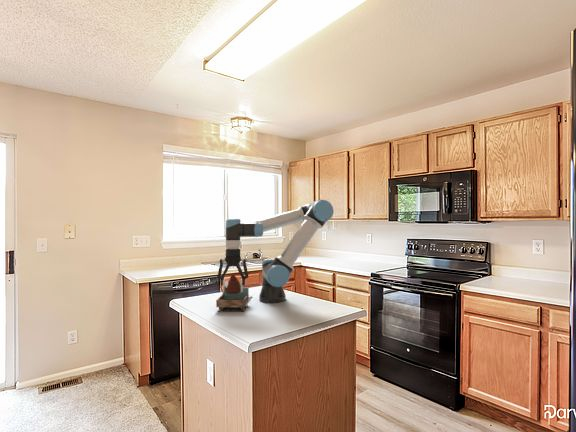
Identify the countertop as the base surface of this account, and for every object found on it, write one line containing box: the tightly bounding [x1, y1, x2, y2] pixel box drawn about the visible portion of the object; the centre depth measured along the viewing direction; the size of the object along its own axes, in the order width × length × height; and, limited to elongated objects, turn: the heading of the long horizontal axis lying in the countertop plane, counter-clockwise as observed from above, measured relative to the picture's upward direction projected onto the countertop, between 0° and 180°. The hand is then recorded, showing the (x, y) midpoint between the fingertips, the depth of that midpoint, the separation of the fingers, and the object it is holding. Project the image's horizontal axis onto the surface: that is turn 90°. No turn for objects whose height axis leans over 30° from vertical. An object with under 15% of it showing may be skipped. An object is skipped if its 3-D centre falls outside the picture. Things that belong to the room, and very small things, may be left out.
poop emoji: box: [224, 274, 241, 294], centre depth 172 cm, size 10×8×9 cm
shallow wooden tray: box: [215, 287, 250, 310], centre depth 171 cm, size 14×14×9 cm
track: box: [217, 296, 253, 313], centre depth 180 cm, size 13×32×1 cm, turn 178°
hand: (233, 291), depth 172 cm, fingers closed on poop emoji, 8 cm apart
